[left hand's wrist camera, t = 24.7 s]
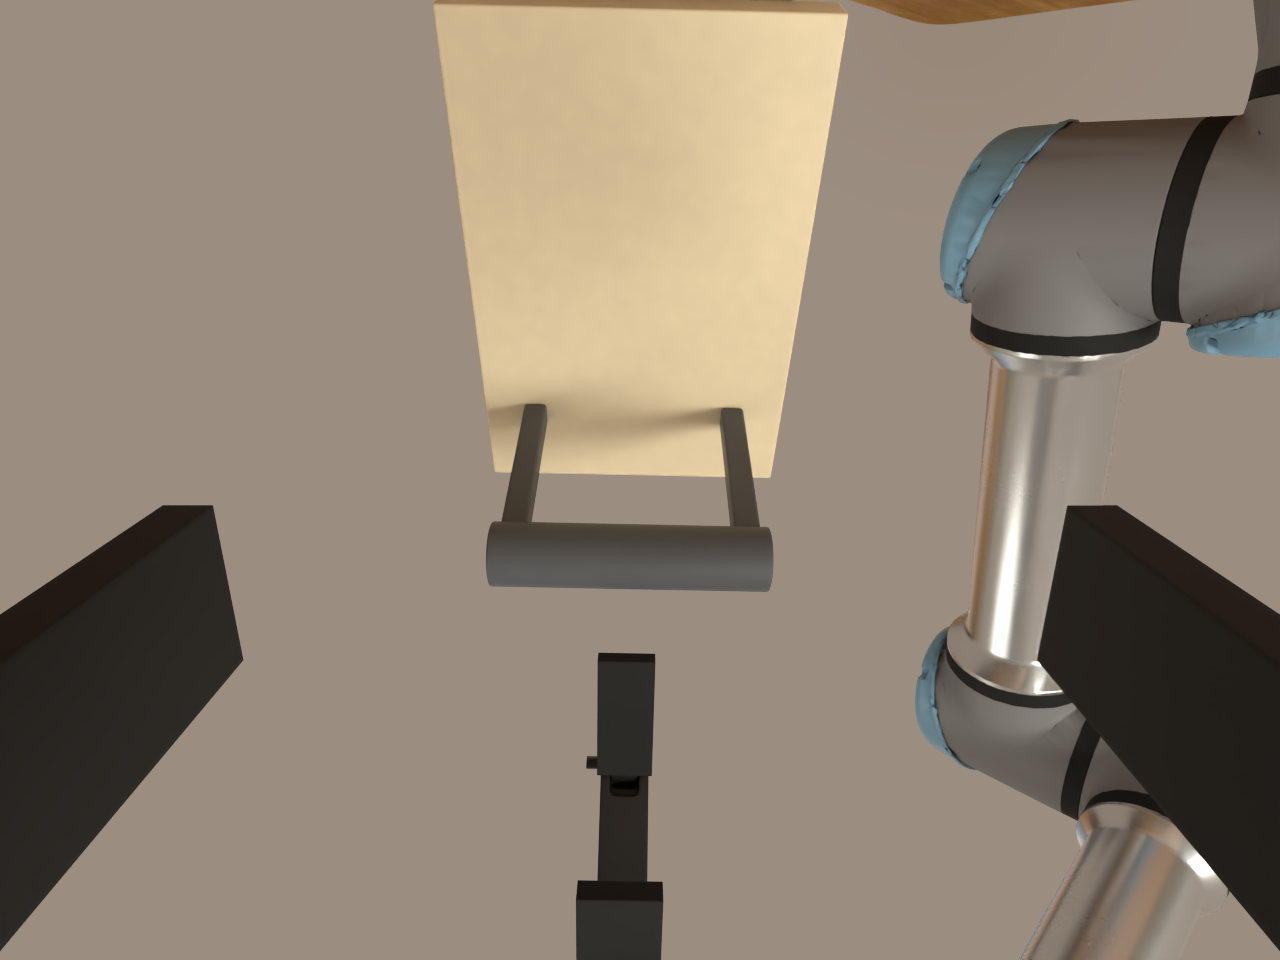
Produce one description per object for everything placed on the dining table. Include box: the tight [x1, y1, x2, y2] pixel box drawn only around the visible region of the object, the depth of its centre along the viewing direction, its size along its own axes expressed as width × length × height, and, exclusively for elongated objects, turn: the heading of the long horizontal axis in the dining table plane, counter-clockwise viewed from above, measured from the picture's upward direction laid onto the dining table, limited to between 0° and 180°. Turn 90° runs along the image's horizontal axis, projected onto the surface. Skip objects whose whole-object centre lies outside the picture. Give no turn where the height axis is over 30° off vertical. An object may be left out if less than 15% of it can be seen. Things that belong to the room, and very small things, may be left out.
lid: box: [433, 0, 848, 592], centre depth 20 cm, size 14×9×8 cm
